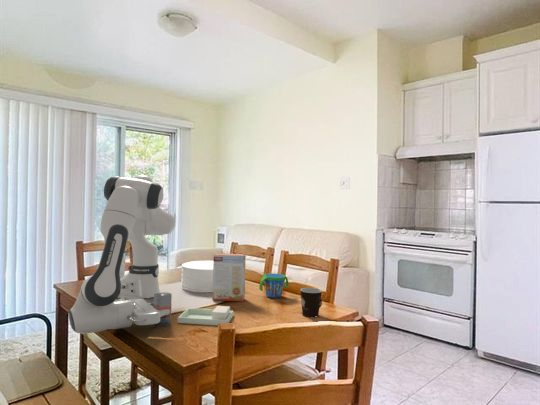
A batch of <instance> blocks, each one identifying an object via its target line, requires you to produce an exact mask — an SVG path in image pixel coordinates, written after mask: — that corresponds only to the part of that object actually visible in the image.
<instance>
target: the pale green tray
mask: <svg viewBox="0 0 540 405" xmlns="http://www.w3.org/2000/svg"><path fill="white" fill-rule="evenodd" d="M213 310H214V309H213V308H212V309H209V308H195V307H194V308H193V307H191V308H190V307H188V308H187V309H185V310H184V311H183V312H182V313H180V315H179V316H178V317H177V324H188V325H189V324H191V325H192V324H193V325H206V326H219V325H218V324H219V323H228V324H229V323H230V322H231V320H232V318H234V310H230V314H229V316H228V317H227V319H226V320H221V319H212V311H213Z"/></svg>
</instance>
